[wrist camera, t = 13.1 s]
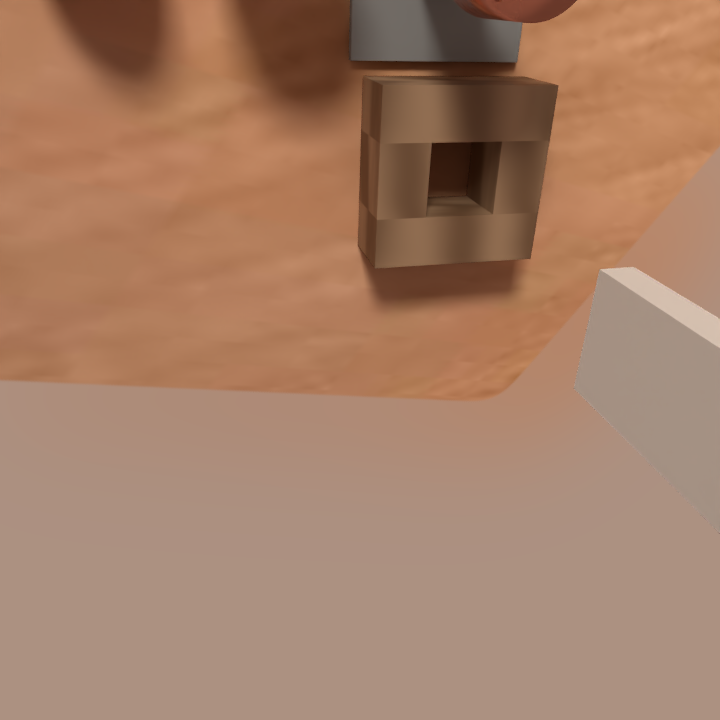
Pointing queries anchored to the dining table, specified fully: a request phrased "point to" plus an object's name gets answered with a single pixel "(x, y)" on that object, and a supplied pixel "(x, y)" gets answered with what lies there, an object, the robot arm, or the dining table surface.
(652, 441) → the robot arm
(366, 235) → the eye block
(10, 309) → the dining table surface
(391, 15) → the mat
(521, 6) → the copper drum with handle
